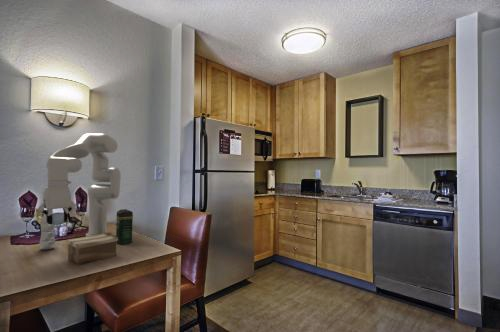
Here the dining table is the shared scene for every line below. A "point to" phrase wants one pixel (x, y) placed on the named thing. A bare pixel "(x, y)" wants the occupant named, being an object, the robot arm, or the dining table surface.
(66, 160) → the robot arm
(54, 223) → the blue cylinder with recess
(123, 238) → the coffee jar
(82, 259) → the box
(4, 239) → the dining table surface
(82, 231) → the dining table surface
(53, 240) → the plastic bottle
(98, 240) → the lid
